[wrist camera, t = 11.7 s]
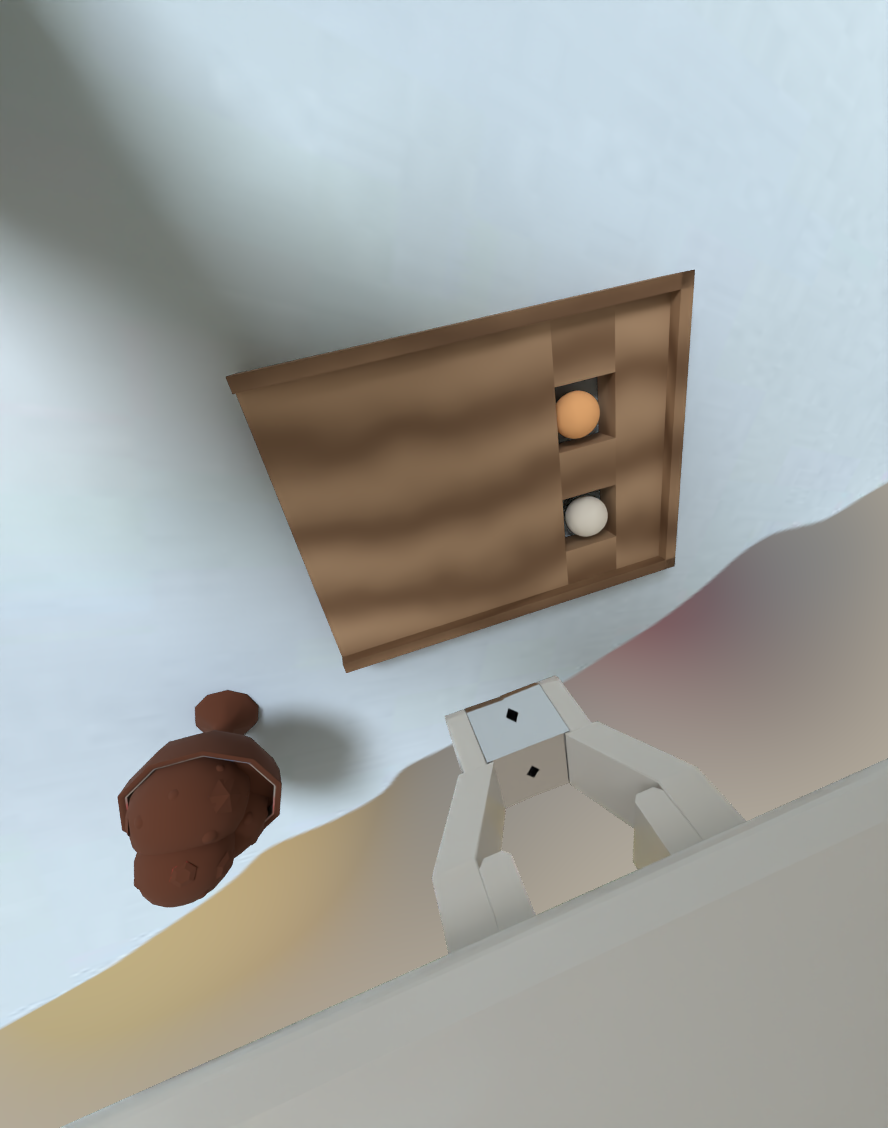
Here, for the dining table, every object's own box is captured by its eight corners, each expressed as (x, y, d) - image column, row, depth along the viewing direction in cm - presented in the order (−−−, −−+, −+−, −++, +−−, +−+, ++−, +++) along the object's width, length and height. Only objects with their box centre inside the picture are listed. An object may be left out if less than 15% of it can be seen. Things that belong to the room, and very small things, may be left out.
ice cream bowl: (303, 736, 44) (296, 900, 31) (185, 769, 42) (125, 958, 29) (272, 654, 39) (249, 807, 26) (137, 686, 37) (39, 869, 24)
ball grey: (556, 496, 39) (577, 509, 36) (592, 486, 40) (616, 498, 37) (559, 532, 41) (579, 547, 38) (594, 521, 42) (616, 536, 38)
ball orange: (604, 389, 32) (593, 383, 35) (554, 399, 32) (547, 392, 36) (605, 439, 34) (594, 429, 37) (557, 447, 34) (550, 436, 37)
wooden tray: (235, 373, 29) (225, 376, 26) (660, 276, 33) (694, 269, 30) (344, 648, 41) (346, 673, 38) (650, 551, 45) (674, 565, 42)
